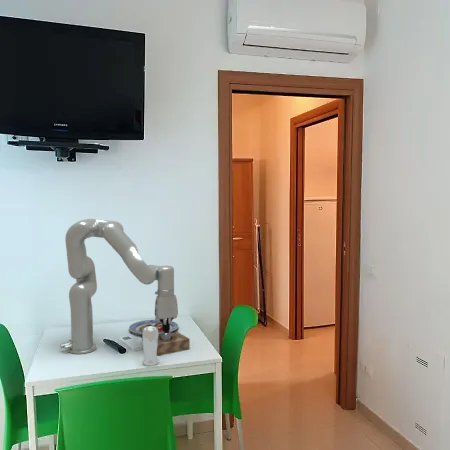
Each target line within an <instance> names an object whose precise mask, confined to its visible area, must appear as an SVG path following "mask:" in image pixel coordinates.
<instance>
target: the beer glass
mask: <svg viewBox="0 0 450 450" xmlns="http://www.w3.org/2000/svg"><path fill="white" fill-rule="evenodd" d="M158 341H159V336H158V328H157V327H153V326H149V327H144V328H143V329H142V334H141V343H142V350H143V361H142V363H143V365H144V366H147V367H148V366H149V367H151V366H156V365H157V364H159V363H158V356H157V348H158Z"/></svg>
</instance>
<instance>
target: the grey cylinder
mask: <svg viewBox="0 0 450 450" xmlns="http://www.w3.org/2000/svg"><path fill="white" fill-rule="evenodd" d="M171 333H172V332H170V331H169V333H168V332H167V333H165V332H163V331H162V332H161V334H160V335H161V340H163V341H168V340H171Z"/></svg>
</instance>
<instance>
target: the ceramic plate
mask: <svg viewBox="0 0 450 450" xmlns="http://www.w3.org/2000/svg"><path fill="white" fill-rule="evenodd" d="M149 326H153V327H157V328H158V335H161V332H162V331H163V329H162V323H161V322H160V321H156V320H155V319H144V320H140V321H136V322H134V323H132V324H130V325H129V327H128V330H129V331H130V332H133V333H135V334H138V335H142V329H143V328H144V327H149ZM178 328H179V323H177V322H175V321H173V320H172V321H171V323H170V330H169V331H170V332H171V333H173V332H174V331H176V330H177V329H178Z"/></svg>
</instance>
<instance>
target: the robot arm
mask: <svg viewBox="0 0 450 450" xmlns="http://www.w3.org/2000/svg"><path fill="white" fill-rule="evenodd" d="M92 237H93V238H103V239H104V240H105V241H106V242H107V244H109V246H110V247H112V249H113V250H114V251H115V252H116V254H118V255H119V257H121V259H122V261H123V263H124V264H125V266H126V268H127V269H128V270H129V271H130V272H131V273H132V274H133V276H134V277H135V278H136V279H137V280H138V281H139V282H140V283H142V285H146V286H147V285H151V284H153V283H154V282H155V281H157V290H156V291H155V292H154V295H156V297H155V302H154V316H155V318H154V320H156V321H160V322H161V323H162V329H163V332H165V333H167V332H168V333H169V330H170V323H171V321H173V320H175V319H177V318H178V315H179V307H178V298H177V295H176V294H175V268H174V266H173V265H155V264H147V263H146V262H145V260H144V259H143V258H142V257H141V255H140V253H139V249H138V247H137V245H136V244H135V243H134V241H133V240H132V239H131V238H130V237H129V236H128V234H126V233H125V231H124V227H123V225H122V224H121V223H120V222H118V221H116V220H103V219H99V218H98V219H97V218H96V219H95V218H86V219H82V220H79V221H77V222H75V223H73V224H72V225H70V227H69V228H68V230H67V231H66V234H65V238H64V239H65V249H66V257H67V258H66V260H67V268H68V269H67V270H68V273H69V276H70V277H71V278H73V279H75V283H74V284H72V286H71V287H70V289H69V292H68V299H69V308H70V335H71V336H70V339H69V341H68V342H64V343H60V349H65V350H66V349H67V352H68V353H71V354H75V355H80V354H83V355H84V354H88V353H93V352H94V351H95V350H97V347H98V346H97V344H95V343H94V323H93V322H94V319H93V317H94V315H93V303H92V297H93V296H94V295H95V293H97V289H98V284H97V283H98V281H97V275H96V267H95V262H94V261H93V259H92V258H91V257H89V256H88V255H87V247H86V243H85V241H86V239H90V238H92Z"/></svg>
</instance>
